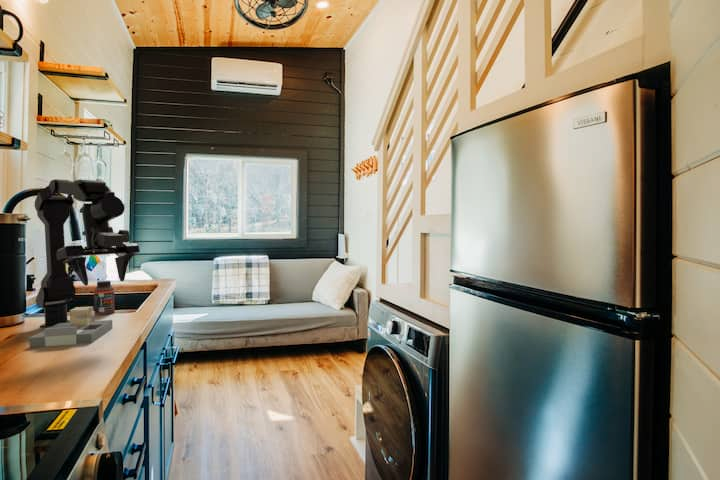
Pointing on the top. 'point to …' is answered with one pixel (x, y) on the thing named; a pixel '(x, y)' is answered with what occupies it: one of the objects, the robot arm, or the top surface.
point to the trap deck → (70, 334)
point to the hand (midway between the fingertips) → (104, 283)
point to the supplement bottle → (104, 298)
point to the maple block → (81, 316)
